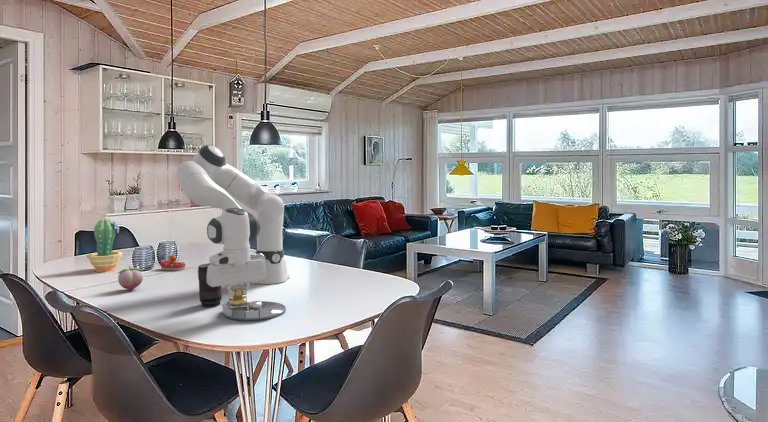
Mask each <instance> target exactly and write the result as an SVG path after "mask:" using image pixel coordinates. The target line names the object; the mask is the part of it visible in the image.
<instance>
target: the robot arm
mask: <svg viewBox="0 0 768 422" xmlns="http://www.w3.org/2000/svg"><path fill="white" fill-rule="evenodd" d="M225 157H226V156H225V155H224V153H223V152H222V151H221V149H219V148H218V147H216V146H214V145H212V144H205V145H204V146H202V147H200V149H199V150H198V152H197V153H196V154H195V155H194V156H193V157H192V159H191V160H188V161H184V162H181V164H179V165H178V167H177V169H176V177H177V180H178V183H179V186H180V188H181V190H182V192H183V194H184V195H185V197H186V198H187V200H189V201H190V202H191V203H192V204H194V205H197V206H201V207H209V208H217V209H220V210H222V211H223V213H222V214H221V215H219V216H216V217H213V218H211V219H210V220H209V222H208V224H207V227H206V234H207V238H208V239H209V241H210V242H212V243H213V244H216V245H223V249H222V251H220V252H217V253H215V254H213V255H211V256H209V258H208V261H209V262H210V263H211V264H210V265H209V266H208V269H207V284H208V285H209V286H211V287H217V286H221V287H223V286H224V287H225V289H226V291H227V292H228V297H229V298H232V297H234V296H235V295H234V294H235V292H234V291H233V290H232V289H231V288H232V285H236V284H237V285H238V284H244V286H243V287H242V296H247V295H248V290H249V287H250V285H251V284H255V285H257V284H258V285H259V284H260V285H261V284H262V285H270V284H271V285H273V284H280V283H285V282H287V281H288V279H290V278H291V276H290V275H288V267H287V261H286V260H285V259H284V257H285V255H284V254H285V251H284V247H283V229H284V217H285V204H284V201H283V199H282V198H281V197H280V196H278V195H276V194H274V193H272V192H271V191H269V190H268V189H266V188H265V187H263V186H262V185H260V184H259V183H258V182H257V181H256V180H254V179H252V178H251V177H249V176H248V175H246V174H245V173H243V172H242V171H240V170H239V169H238V168H236V167H234V166H233V165H232V164H229V163H227V162H226V158H225ZM243 205H244V206H245V207H247V208H249V209H250V210H251V211H253V212H254V213H256V214H257V218H256V216H255V215H254V214H252V213H250V212H249V211H248V210H246V208H245V207H244V206H243ZM255 240H256V250H255V253H254V254H253V253H252V254H251V244H250V243H253V241H255Z"/></svg>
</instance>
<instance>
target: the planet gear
mask: <svg viewBox="0 0 768 422" xmlns="http://www.w3.org/2000/svg"><path fill="white" fill-rule="evenodd" d="M242 289H243V287H241V286H240V287H239V286H236V287H233V288H232V291H234V292H235V294H234V295H235V296H234V297H229V298H228V300H229V305H230V306H243V305H246V304H247V302H248V297H247V296H246V297H242V296H243V295H242Z"/></svg>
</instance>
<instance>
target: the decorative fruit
mask: <svg viewBox="0 0 768 422" xmlns="http://www.w3.org/2000/svg"><path fill="white" fill-rule="evenodd" d="M128 267H129V268H125V269H121V270H120V271H118V272H117V275H118V276H117V277H118V278H117V279H118V284H119V286H120V287H122V288H124V289H125V290H129V291H133V290H134V289H137V287H139V286H140V285H141V284H142V282H143V279H144V275H143V273H142V271H143V269H141V268H139V267H132V268H131V266H128Z"/></svg>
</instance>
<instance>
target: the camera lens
mask: <svg viewBox="0 0 768 422" xmlns="http://www.w3.org/2000/svg"><path fill="white" fill-rule="evenodd" d="M210 264H211V263H202V264H199V265H198V266H197V267H198V269H197V278H198V279H197V280H198V292H199V293H198V296H199V302H200V305H201V307H203V308H214V307H219V306H220V305H221V301H222V295H223V294H222V293H223V291H222V286H217V287H211V286H209V285H208V284H207V269H208V266H209V265H210Z"/></svg>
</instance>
